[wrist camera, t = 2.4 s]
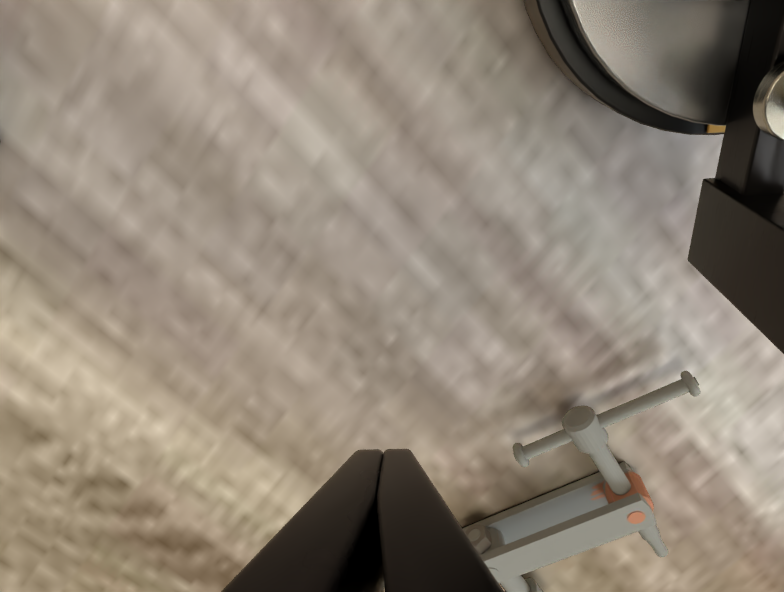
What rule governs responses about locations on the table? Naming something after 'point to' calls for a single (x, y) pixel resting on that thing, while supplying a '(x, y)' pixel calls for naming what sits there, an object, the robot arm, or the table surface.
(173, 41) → the table surface
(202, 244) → the table surface
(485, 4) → the table surface
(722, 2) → the swivel clamp
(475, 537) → the clamp
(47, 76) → the table surface
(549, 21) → the swivel base
